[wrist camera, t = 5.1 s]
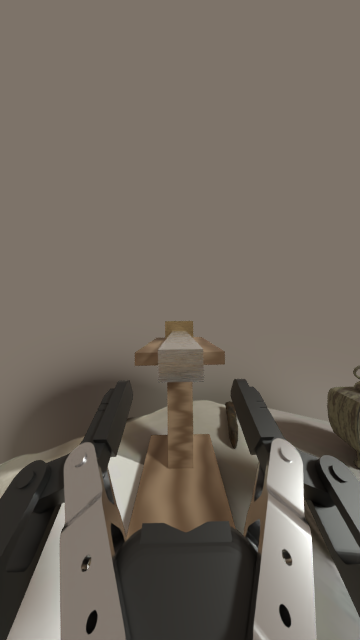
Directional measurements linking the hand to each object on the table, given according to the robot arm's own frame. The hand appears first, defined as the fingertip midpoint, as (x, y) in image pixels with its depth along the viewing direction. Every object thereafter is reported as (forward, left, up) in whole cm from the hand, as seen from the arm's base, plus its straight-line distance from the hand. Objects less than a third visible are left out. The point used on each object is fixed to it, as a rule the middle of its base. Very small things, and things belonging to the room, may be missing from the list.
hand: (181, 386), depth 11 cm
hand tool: (-19, -39, -32) cm, 54 cm away
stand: (0, -22, -32) cm, 38 cm away
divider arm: (0, -16, 0) cm, 16 cm away
